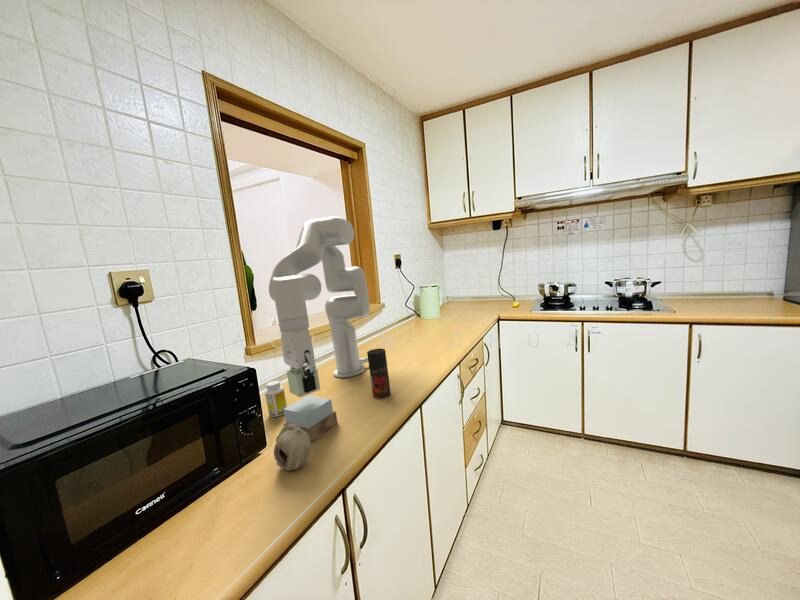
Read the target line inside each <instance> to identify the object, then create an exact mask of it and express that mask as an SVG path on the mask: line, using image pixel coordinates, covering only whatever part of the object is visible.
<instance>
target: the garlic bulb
mask: <svg viewBox="0 0 800 600" xmlns="http://www.w3.org/2000/svg"><path fill="white" fill-rule="evenodd" d="M311 447H312V443H311V439H310V437H309V435H308V434H307V433H306V432H305V431H304V430H302V429H301V428H300V426H298V425H297V424H288V425H285V426H284V425H283V427H282V428H281V429H280V431H279V434H278V435H277V436H276V438H275V445H274V449H273V456H274V460H275V461H276V465H277V466H278V467H280V469H281V468H282V469H284V470H286V471H287V472H288V471H289V472H290V471H292V470H297V469H299V468H301V467H303V466H304V465H305V464H306V463H307V461H308V459H309V456H310V454H311V449H312V448H311Z"/></svg>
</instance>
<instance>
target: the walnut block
mask: <svg viewBox="0 0 800 600" xmlns="http://www.w3.org/2000/svg"><path fill="white" fill-rule="evenodd" d="M285 425H288V423H286V422H285V423H283V427H284V426H285ZM336 425H338V416H337V411H336V410H333V413H332V414H330V415H329V416H327V417H326V418H324V419H323V420H322V421H320V422H319V423H317V424H316V425H314V426H313V427H311V428H310V429H307V428H303V427H300V428H301V429H302V430H304V431H305V432H306V433H307V434H308V435H309V437H310V439H311V444H314V443H315V442H316V441H318V439H321V438H322V436H324V435H326V433H328V431H330V430H332V429H333V428H334V427H335V426H336Z"/></svg>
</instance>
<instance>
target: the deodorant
mask: <svg viewBox="0 0 800 600" xmlns="http://www.w3.org/2000/svg"><path fill="white" fill-rule="evenodd" d="M386 353H387V352H386V349H384V348H373V349H370V350H368V351H367V352H366V354H367V357H368V362H367V363H368V368H369V375H370V383H371V384H370V385H371V391H372V392H371V393H372V397H373V398H374V399H376V398H377V400H378V399H381V398H382V399H386V398H388V397H390V396H391V395H390V394H391V392H392V391H391V386H390V385H391V384H390V379H389V378H390V376H389V370H388V369H389V368H388V361H387V354H386ZM389 395H390V396H389ZM385 397H386V398H385Z"/></svg>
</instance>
